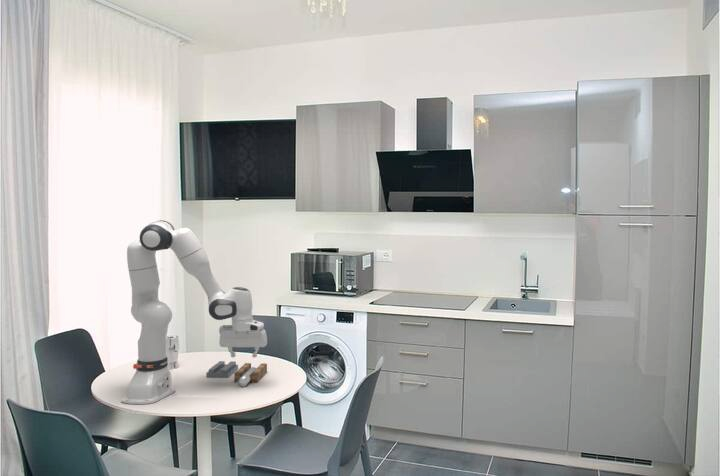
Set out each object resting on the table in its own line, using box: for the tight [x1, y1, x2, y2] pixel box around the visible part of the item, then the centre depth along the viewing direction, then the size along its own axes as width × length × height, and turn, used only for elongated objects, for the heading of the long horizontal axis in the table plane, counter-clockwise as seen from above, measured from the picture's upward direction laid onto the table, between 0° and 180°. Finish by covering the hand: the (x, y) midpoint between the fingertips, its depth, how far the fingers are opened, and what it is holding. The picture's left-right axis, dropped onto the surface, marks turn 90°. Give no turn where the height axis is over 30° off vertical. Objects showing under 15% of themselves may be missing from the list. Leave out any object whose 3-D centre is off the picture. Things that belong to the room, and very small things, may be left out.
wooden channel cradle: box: [233, 362, 268, 384], centre depth 252 cm, size 16×10×5 cm, turn 174°
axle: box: [237, 366, 257, 388], centre depth 246 cm, size 16×4×4 cm, turn 174°
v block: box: [206, 360, 239, 379], centre depth 259 cm, size 14×10×4 cm
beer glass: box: [166, 334, 180, 370], centre depth 271 cm, size 7×7×15 cm
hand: (243, 357), depth 241 cm, fingers open, 8 cm apart
